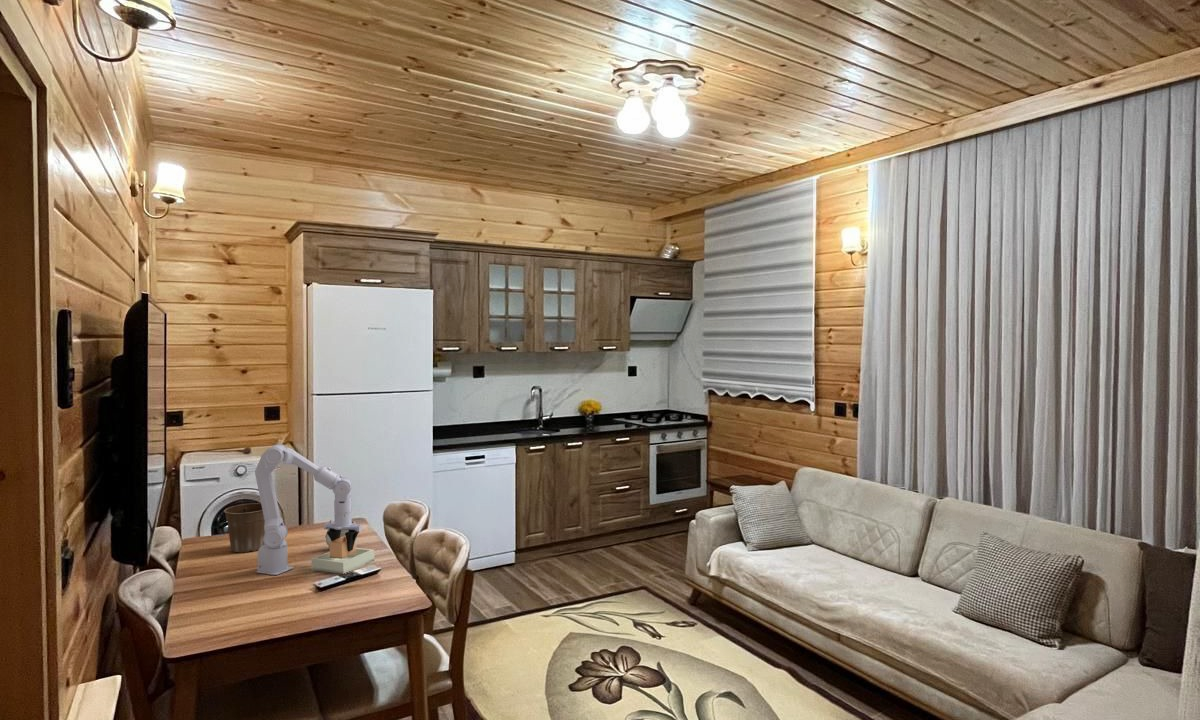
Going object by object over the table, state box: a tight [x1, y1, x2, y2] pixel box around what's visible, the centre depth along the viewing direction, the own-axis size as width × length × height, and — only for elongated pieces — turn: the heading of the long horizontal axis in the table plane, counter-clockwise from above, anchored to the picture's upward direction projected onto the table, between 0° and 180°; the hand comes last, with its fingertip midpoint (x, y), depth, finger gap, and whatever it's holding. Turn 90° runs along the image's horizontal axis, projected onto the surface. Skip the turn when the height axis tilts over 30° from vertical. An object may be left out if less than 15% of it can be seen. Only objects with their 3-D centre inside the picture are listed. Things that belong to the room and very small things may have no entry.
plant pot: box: [223, 502, 265, 553], centre depth 264 cm, size 16×16×16 cm
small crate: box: [329, 536, 357, 559], centre depth 243 cm, size 5×8×6 cm, turn 165°
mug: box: [325, 519, 358, 549], centre depth 263 cm, size 8×12×12 cm, turn 125°
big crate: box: [310, 547, 375, 575], centre depth 243 cm, size 14×16×4 cm
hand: (343, 550), depth 243 cm, fingers closed on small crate, 5 cm apart
